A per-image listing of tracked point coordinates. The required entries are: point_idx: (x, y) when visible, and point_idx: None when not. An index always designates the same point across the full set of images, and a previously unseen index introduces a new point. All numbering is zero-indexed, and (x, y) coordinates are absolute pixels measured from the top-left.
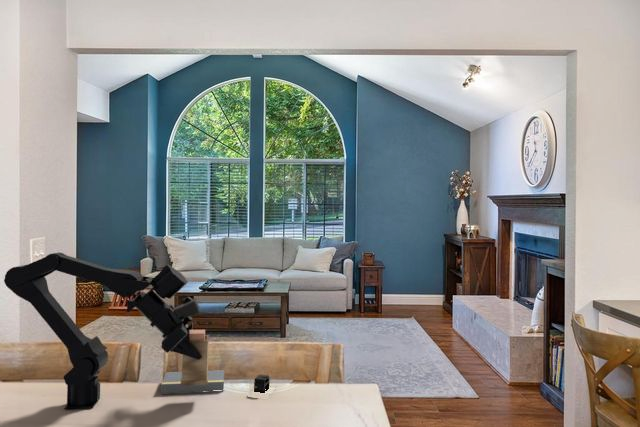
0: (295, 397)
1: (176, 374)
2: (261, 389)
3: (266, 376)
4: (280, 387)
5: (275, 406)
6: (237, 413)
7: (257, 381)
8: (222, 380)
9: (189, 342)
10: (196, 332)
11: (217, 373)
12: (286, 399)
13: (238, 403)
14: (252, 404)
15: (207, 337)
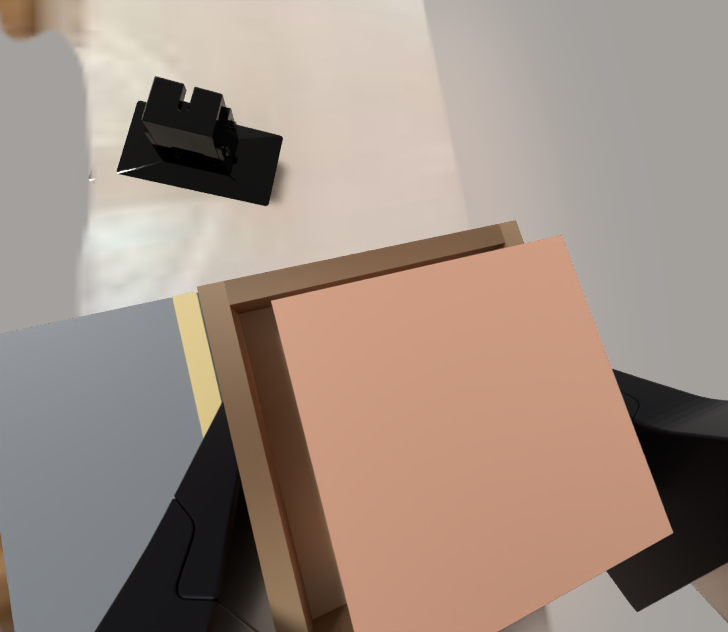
0: (250, 43)
1: (75, 607)
2: (232, 138)
3: (171, 87)
4: (141, 87)
5: (338, 104)
6: (411, 210)
7: (218, 132)
8: (179, 301)
9: (685, 397)
10: (550, 397)
11: (46, 361)
12: (272, 71)
13: (330, 221)
14: (332, 174)
15: (350, 266)
